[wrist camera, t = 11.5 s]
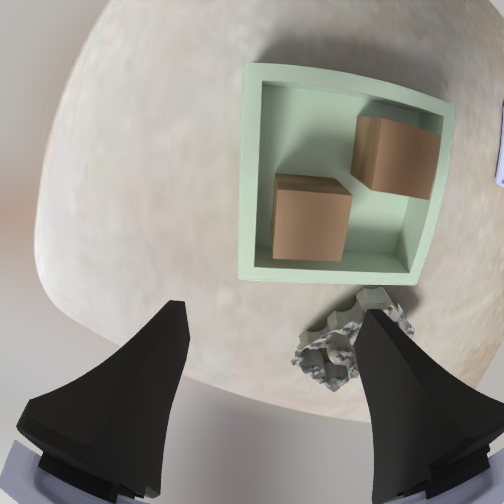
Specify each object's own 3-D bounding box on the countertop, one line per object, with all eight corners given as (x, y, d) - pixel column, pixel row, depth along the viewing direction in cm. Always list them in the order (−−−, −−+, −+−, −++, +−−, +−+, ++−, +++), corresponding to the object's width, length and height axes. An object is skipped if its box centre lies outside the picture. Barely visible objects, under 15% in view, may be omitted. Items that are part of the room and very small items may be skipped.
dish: (428, 104, 14) (455, 106, 11) (398, 261, 20) (416, 285, 17) (247, 72, 14) (242, 62, 11) (241, 253, 21) (237, 279, 18)
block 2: (409, 128, 15) (440, 134, 11) (400, 182, 17) (428, 200, 13) (356, 115, 15) (381, 117, 11) (350, 173, 17) (371, 190, 13)
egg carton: (377, 272, 21) (395, 301, 18) (408, 316, 24) (423, 344, 20) (283, 337, 25) (285, 371, 22) (326, 369, 28) (331, 399, 24)
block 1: (335, 178, 17) (352, 195, 13) (327, 232, 19) (340, 261, 15) (275, 173, 17) (277, 189, 14) (271, 229, 19) (272, 258, 15)
